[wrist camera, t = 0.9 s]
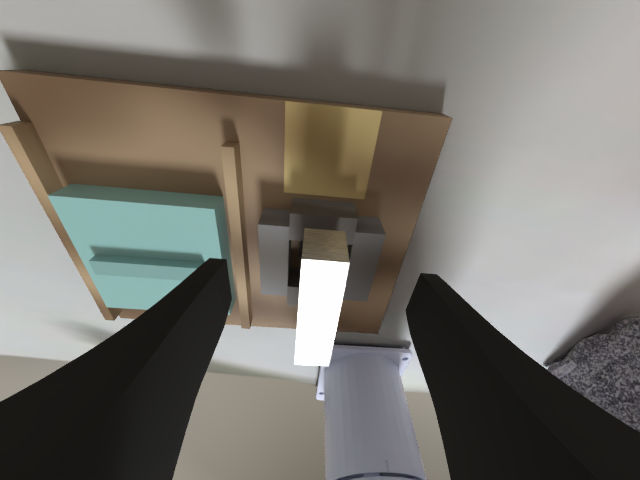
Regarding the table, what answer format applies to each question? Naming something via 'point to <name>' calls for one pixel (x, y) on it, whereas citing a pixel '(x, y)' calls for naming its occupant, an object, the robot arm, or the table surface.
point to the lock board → (240, 176)
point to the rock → (607, 370)
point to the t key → (320, 294)
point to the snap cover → (142, 239)
